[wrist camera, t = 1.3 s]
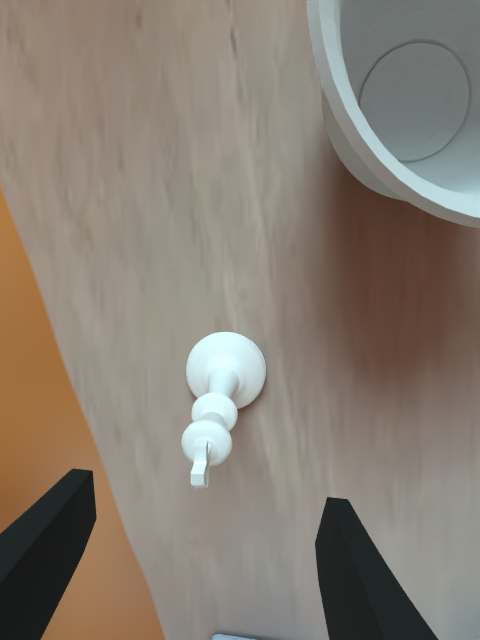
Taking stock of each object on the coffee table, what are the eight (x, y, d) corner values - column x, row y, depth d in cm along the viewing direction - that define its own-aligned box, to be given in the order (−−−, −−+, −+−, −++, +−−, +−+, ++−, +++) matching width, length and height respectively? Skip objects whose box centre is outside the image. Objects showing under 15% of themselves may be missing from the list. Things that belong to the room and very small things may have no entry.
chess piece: (188, 405, 22) (131, 537, 12) (185, 331, 21) (119, 410, 11) (265, 407, 22) (269, 543, 12) (266, 332, 21) (272, 414, 11)
